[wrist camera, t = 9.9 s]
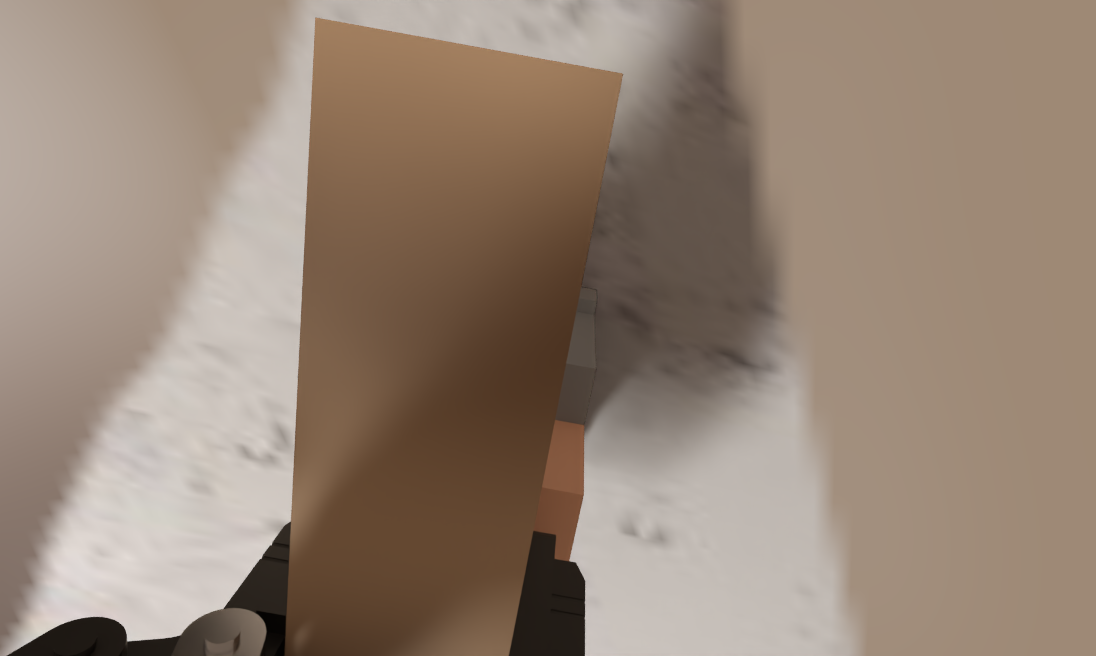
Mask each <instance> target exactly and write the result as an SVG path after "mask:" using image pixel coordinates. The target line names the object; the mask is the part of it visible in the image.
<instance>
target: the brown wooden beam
mask: <svg viewBox="0 0 1096 656" xmlns="http://www.w3.org/2000/svg"><path fill="white" fill-rule="evenodd" d="M622 76H623V74H622V73H616V72H611V71H605V70H600V69H594V68H589V67H583V66H578V65H572V64H567V63H561V62H556V61H550V60H545V59H539V58H534V57H528V56H523V55H517V54H512V53H507V52H501V51H496V50H490V49H485V48H479V47H474V46H468V45H463V44H457V43H452V42H446V41H441V40H435V39H430V38H424V37H419V36H413V35H408V34H402V33H397V32H392V31H386V30H381V29H375V28H370V27H364V26H359V25H353V24H348V23H342V22H337V21H331V20H326V19H320V18H315V38H314V59H313V80H312V100H311V121H310V142H309V162H308V183H307V204H306V224H305V245H304V265H303V286H302V307H301V327H300V348H299V369H298V389H297V410H296V431H295V451H294V472H293V492H292V513H291V534H290V554H289V575H288V596H287V616H286V637H285V656H509V652H510V647H511V642H512V637H513V632H514V627H515V622H516V617H517V611H518V606H519V601H520V596H521V591H522V586H523V581H524V576H525V571H526V566H527V561H528V555H529V550H530V545H531V540H532V535H533V530H534V525H535V520H536V515H537V510H538V504H539V499H540V494H541V489H542V484H543V479H544V474H545V469H546V464H547V459H548V454H549V448H550V443H551V438H552V433H553V428H554V423H555V418H556V413H557V408H558V403H559V397H560V392H561V387H562V382H563V377H564V372H565V367H566V362H567V357H568V352H569V346H570V341H571V336H572V331H573V326H574V321H575V316H576V311H577V306H578V301H579V296H580V290H581V285H582V280H583V275H584V270H585V265H586V260H587V255H588V250H589V245H590V239H591V234H592V229H593V224H594V219H595V214H596V209H597V204H598V199H599V194H600V189H601V183H602V178H603V173H604V168H605V163H606V158H607V153H608V148H609V143H610V138H611V132H612V127H613V122H614V117H615V112H616V107H617V102H618V97H619V92H620V87H621V82H622Z"/></svg>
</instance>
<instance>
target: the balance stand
mask: <svg viewBox="0 0 1096 656" xmlns="http://www.w3.org/2000/svg"><path fill="white" fill-rule="evenodd" d="M596 304H597V291H596V290H594V289H589V288H583V287H581V290H580V296H579V301H578V306H577V311H576V316H575V321H574V326H573V331H572V336H571V341H570V346H569V352H568V357H567V362H566V367H565V372H564V377H563V382H562V387H561V392H560V397H559V403H558V408H557V413H556V418H555V423H554V428H553V433H552V438H551V443H550V448H549V454H548V459H547V464H546V469H545V474H544V479H543V484H542V489H541V494H540V499H539V504H538V510H537V515H536V520H535V525H534V530H533V531H538V532H544V533H549V534H555V535H556V545H555V559H559V560H564V561H569V559H570V554H571V550H572V545H573V541H574V536H575V532H576V527H577V523H578V518H579V514H580V509H581V505H582V500H583V496H584V424H585V419H586V415H587V410H588V405H589V401H590V396H591V391H592V387H593V382H594V377H595V373H596V348H595V321H594V314H595V309H596Z"/></svg>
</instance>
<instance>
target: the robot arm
mask: <svg viewBox="0 0 1096 656" xmlns="http://www.w3.org/2000/svg"><path fill="white" fill-rule="evenodd" d="M290 534H291V522H290V523H288V524H286V525H285V526H284V527H283V529H282V530H281V531H280V533H279V534H278V536H277V537H276V538H275V540H274V541H273V543H272V546H271V545H270V546H269V548H268V549H267V550H266V552H265V553H264V555H263V557H262V559H260V560H259V561H258V563H257V564H256V565H255V567H254V568H253V569H252V571H251V572H250V574H249V575H248V576H247V578H246V579H245V580H244V582H243V583H242V584H241V586H240V587H239V588H238V590H237V591H236V593H235V594H234V595H233V597H232V598H231V599H230V601H229V602H228V603H227V605H226V606H225V607H224V609H221V610H217V611H213V612H211V613H208V614H205V615H204V616H202V617H200V618H198V619H197V620H195V621H194V622H192V623H191V624H190V625H189V626H188V627H187V628H186V629H185V630H184V631H183V633H182V635H181V636H177V637H172V638H165V639H153V640H141V641H129V642H127V634H126V631H125V629H124V627H123V626H122V625H121V624H120V623H119V622H117V621H115V620H112V619H109V618H103V617H88V618H82V619H77V620H73V621H70V622H67V623H64V624H62V625H59V626H57V627H55V628H53V629H52V630H50V631H48V632H46V633H45V634H43V635H41V636H39V637H38V638H36V639H34V640H33V641H31V642H29V643H28V644H26V645H24V646H22V647H21V648H19V649H17V650H16V651H14V652H12V653H11V654H9V655H7V656H285V637H286V616H287V596H288V575H289V554H290ZM555 545H556V535H555V534H549V533H544V532H538V531H533V535H532V540H531V545H530V550H529V555H528V561H527V566H526V571H525V576H524V581H523V586H522V591H521V596H520V601H519V606H518V611H517V617H516V622H515V627H514V632H513V637H512V642H511V647H510V652H509V656H585V619H584V618H585V580H584V578H583V576H582V574H581V572H580V570H579V568H578V566H577V564H576V563H575V562H570V561H564V560H559V559H555Z"/></svg>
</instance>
